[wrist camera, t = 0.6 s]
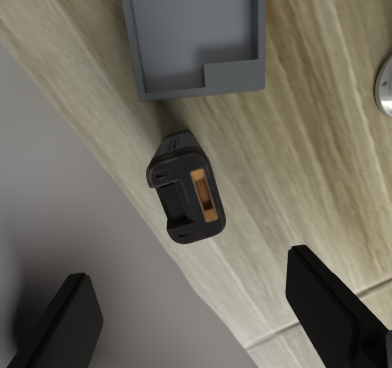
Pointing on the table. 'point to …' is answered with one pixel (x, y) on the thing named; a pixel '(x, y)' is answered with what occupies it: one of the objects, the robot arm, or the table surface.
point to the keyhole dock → (196, 47)
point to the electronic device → (186, 189)
